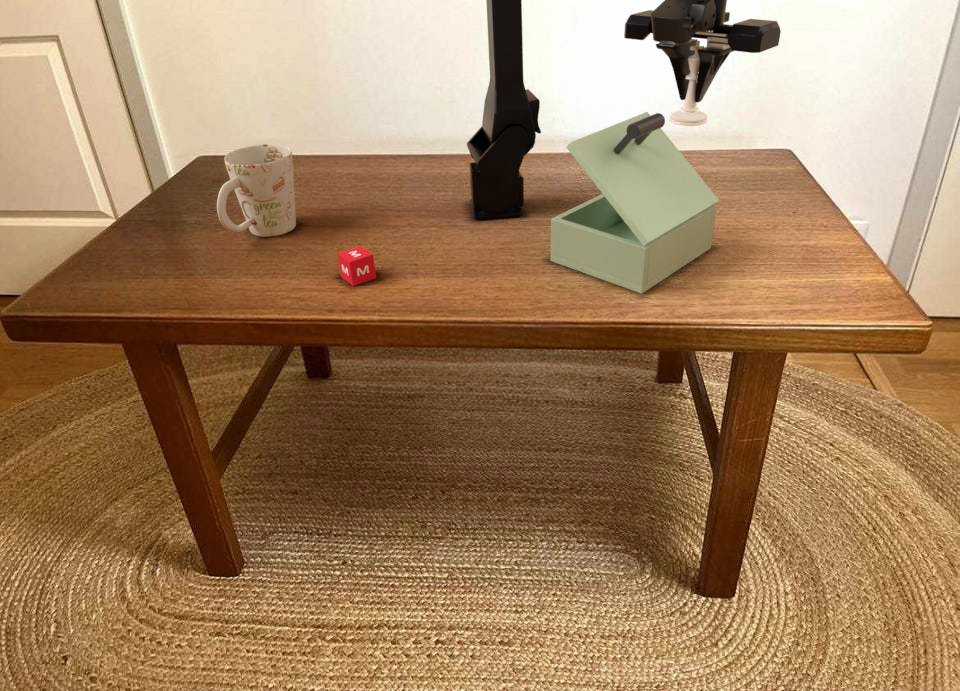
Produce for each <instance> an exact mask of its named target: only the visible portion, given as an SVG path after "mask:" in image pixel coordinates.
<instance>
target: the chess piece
mask: <svg viewBox="0 0 960 691" xmlns="http://www.w3.org/2000/svg"><path fill="white" fill-rule="evenodd" d="M700 43H701V40H698V41H696V46H690V50H695V55H692V56H689V57H688V63H689V69H690V73H689V74H688V75H686V77H685V78H686V79H688V80H689V85H688V90H687V94H686V98H685V100H684V103H683V106H681V107H680V110H676V111H673V112H671V113H670V114H669V116H670V118H669V120H668V121H669V122H670V123H672V124H673V125H678V126H684V127H698V126H702V125H705V124H707V123H708V115H707V113H705V112H703V111H700V110H699V107H698V105H697V102H695V91H696V84H697V78H698V72H699V66H700V59H699V55H698V52H697V50H699V49H702V48H705V46H704V45H701V44H700Z"/></svg>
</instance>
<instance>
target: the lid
mask: <svg viewBox="0 0 960 691" xmlns="http://www.w3.org/2000/svg"><path fill="white" fill-rule="evenodd" d="M665 124H666V118H665V116H664V115H663V114H662V113H659V112H656V113H654V114H650V113H649V111H646V112H643V113H641V114H638V115H636V116H633V117H630V118H628V119H625V120H623V121H621V122H618V123H615V124H613V125H611V126H608V127H605V128H603V129H601V130H598V131H596V132H593V133H590V134H588V135H585V136H583V137H580V138H577V139H575V140H573V141H570V142H569V143H568V144H567V145H566V146H565V147H566V150H568V152H569V153H570V154H571V155H572V157H573V158H574V160H576V162H577V163H578V164H579V166H580V167H581V168H582V169H583V171H584V172H585V173H586V175H587V176H588V177H589V178H590V180H591V181H592V183H594V185H595V186H596V187H597V188H598V190H599V191H600V193H601V194H603V195H604V196H605V197H606V199H607V200H608V201H609V202H610V204H611V205H612V206H613V208H614V209H615V210H616V211H617V213H618V214H619V215H620V217H621V218H622V219H623V220H624V222H625V223H626V224H627V225H628V227H629V228H630V229H631V231H632V232H633V233H634V234H635V236H636V237H637V238H638V239H639V241H640V242H641V243H642V245H643V246H646V245H648V244H649V243H651V242H653V241H654V240H656V239H658V238H660V237H661V236H663V235H665V234H666V233H668V232H670V231H671V230H673V229H675V228H676V227H678V226H680V225H681V224H683V223H685V222H686V221H688V220H690V219H692V218H693V217H695V216H697V215H698V214H700V213H702V212H703V211H705V210H707V209H708V208H710V207H712V206H716V205H717V204H718V203H719V202H720V199H719V198H718V197H717V195H716V194H715V192H713V190H711V188H710V187H709V186H708V185H707V183H706V182H705V181H704V180H703V178H702V177H701V176H700V175H699V173H698V172H697V170H696V169H694V168H693V166H692V165H691V163H690V162H689V160H687V158H686V157H685V156H684V155H683V154H682V152H681V151H680V150H679V149H678V147H677V146H676V145H675V144H674V143H673V141H672V140H671V139H670V138H669V136H668V135H667V133H665V132H664V130H663V129H662V128H663V127H664V126H665Z"/></svg>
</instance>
